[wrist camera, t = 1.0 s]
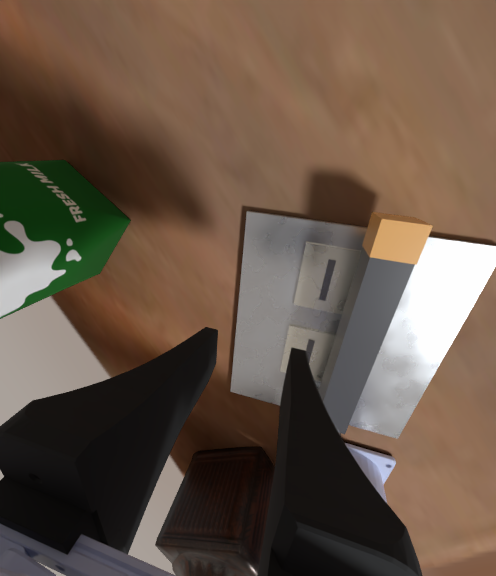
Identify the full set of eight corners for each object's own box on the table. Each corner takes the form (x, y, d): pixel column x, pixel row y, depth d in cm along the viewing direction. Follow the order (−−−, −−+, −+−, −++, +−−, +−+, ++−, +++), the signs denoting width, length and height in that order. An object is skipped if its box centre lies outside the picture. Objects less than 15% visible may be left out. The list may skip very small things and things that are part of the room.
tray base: (395, 432, 23) (414, 493, 19) (232, 387, 26) (214, 430, 22) (499, 245, 15) (571, 274, 11) (248, 210, 18) (227, 222, 14)
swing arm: (342, 407, 21) (345, 434, 19) (314, 400, 21) (314, 425, 19) (415, 217, 14) (432, 225, 12) (372, 212, 15) (381, 218, 12)
